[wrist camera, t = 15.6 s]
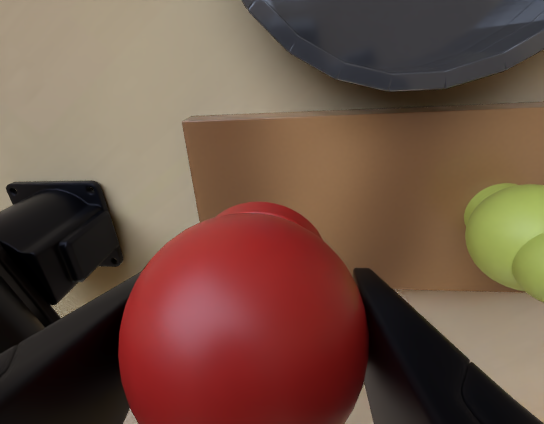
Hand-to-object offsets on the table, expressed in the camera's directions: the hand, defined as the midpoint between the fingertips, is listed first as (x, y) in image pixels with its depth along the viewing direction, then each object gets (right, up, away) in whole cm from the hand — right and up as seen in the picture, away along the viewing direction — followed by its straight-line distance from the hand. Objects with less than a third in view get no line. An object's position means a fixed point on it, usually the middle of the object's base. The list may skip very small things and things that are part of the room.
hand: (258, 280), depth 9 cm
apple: (0, +1, +1) cm, 1 cm away
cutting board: (+7, +3, +11) cm, 13 cm away
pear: (+13, +2, +9) cm, 15 cm away
